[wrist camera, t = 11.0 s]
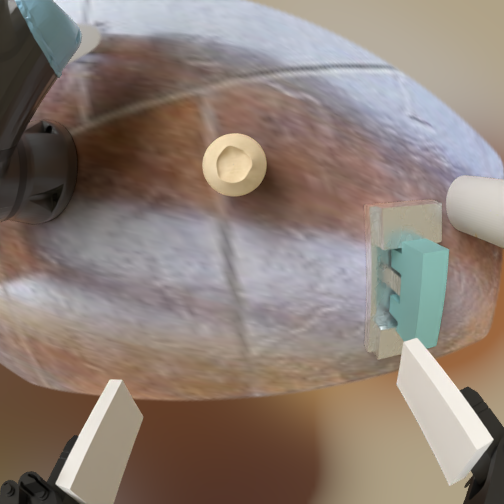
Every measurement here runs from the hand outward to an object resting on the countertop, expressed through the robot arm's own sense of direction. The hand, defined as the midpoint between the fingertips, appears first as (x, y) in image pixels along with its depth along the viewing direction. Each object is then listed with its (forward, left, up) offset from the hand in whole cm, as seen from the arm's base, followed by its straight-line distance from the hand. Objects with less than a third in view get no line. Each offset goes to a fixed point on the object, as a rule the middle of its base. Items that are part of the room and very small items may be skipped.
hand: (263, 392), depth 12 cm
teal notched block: (+6, +18, -23) cm, 30 cm away
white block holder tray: (+6, +18, -24) cm, 30 cm away
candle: (-10, -1, -24) cm, 26 cm away
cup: (-3, +30, -24) cm, 39 cm away
